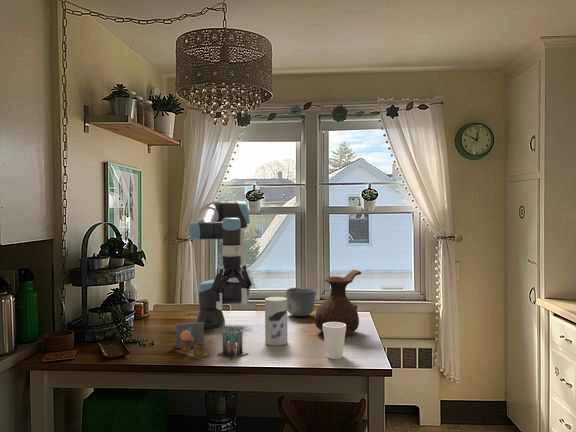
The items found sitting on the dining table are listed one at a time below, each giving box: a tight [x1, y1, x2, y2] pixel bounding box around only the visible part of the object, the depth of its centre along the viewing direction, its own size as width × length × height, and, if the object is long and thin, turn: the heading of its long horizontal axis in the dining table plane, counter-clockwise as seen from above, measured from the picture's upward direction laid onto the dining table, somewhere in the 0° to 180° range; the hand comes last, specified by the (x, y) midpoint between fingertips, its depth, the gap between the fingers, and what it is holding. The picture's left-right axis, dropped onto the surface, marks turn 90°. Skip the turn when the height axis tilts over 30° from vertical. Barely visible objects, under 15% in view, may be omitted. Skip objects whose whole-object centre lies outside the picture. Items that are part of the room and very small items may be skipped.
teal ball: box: [228, 331, 237, 344], centre depth 197 cm, size 5×5×5 cm
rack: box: [175, 340, 211, 360], centre depth 200 cm, size 16×6×5 cm, turn 47°
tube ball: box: [227, 341, 237, 353], centre depth 198 cm, size 5×5×5 cm
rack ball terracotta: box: [180, 330, 191, 341], centre depth 203 cm, size 5×5×5 cm
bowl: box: [285, 287, 317, 318], centre depth 268 cm, size 18×18×15 cm
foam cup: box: [322, 322, 346, 360], centre depth 195 cm, size 10×9×13 cm
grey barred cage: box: [216, 327, 249, 360], centre depth 198 cm, size 9×9×10 cm
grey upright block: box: [175, 322, 205, 349], centre depth 212 cm, size 5×12×10 cm, turn 102°
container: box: [264, 296, 288, 346], centre depth 215 cm, size 10×10×20 cm
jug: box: [314, 269, 362, 337], centre depth 231 cm, size 22×22×30 cm
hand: (232, 306), depth 198 cm, fingers open, 13 cm apart
